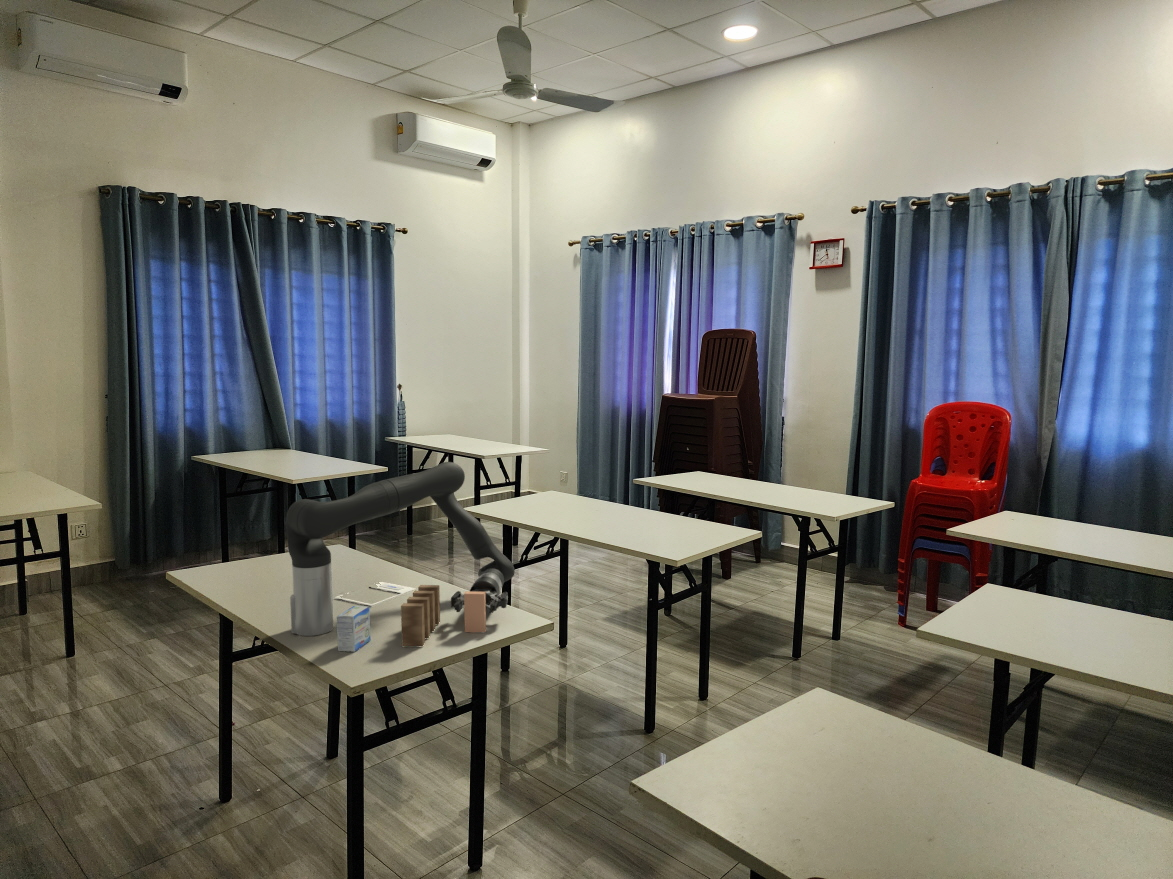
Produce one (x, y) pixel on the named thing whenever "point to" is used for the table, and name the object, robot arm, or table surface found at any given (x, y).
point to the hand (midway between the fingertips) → (474, 608)
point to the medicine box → (353, 628)
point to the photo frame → (386, 587)
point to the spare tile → (475, 611)
